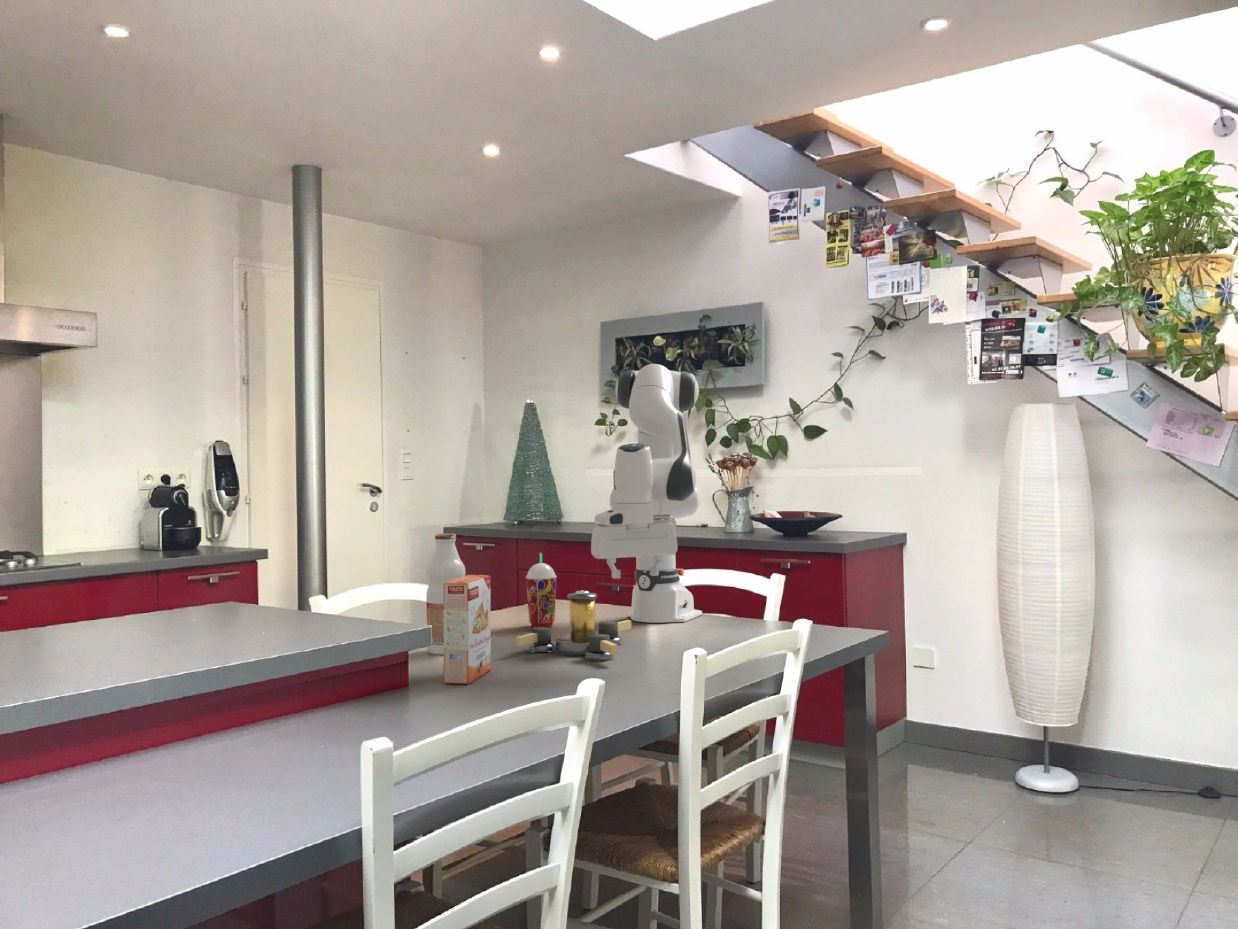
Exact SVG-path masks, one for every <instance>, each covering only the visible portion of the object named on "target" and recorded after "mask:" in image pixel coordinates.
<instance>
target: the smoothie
mask: <svg viewBox="0 0 1238 929" xmlns="http://www.w3.org/2000/svg"><path fill="white" fill-rule="evenodd" d="M555 572H556V571H555V570H554V569H553V568H552V566H551V565H549V564H547V563H544V562H543V553H542V552H539V562H537V563H535V564H534V565H532V566H531V567H530V568H529V569H528V572H527V573H526V574H527V575H525V583H526V597H527V598H526V599H527V610H528V611H527V612H528V623H530V625H531V626H532V627H531V628H533V627H535V628H538V627H549V628H552V627H553V625H554V624H553V623H554V622H555V620H556V619H555V617H556V616H555V615H556V614H555V613H556V598H557V597H556V594H557V592H556V591H557V575H556V573H555Z"/></svg>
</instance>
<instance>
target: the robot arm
mask: <svg viewBox="0 0 1238 929" xmlns="http://www.w3.org/2000/svg"><path fill="white" fill-rule="evenodd" d="M699 388H700V387H699V384H698V380H697V378H696V376H695V374H693V373H691V372H689V371H683V370H682V371H675V370H670V369H668V368H667V367H665V366H664V365H663V364H657V363H649V364H647V365H645V366H643V367H642V368H640V369H639V370H635V369H629V370H625V371H623V372H621V373H620V374H619V376H618V379H617V381H616V384H615V389H614V390H615V396H616V399H617V402H618V404H619V406H621V407H622V408H625V409H627V410H628V412H629V413H628V415H629V418H630V420H631V422H632V424H633V426H635V427H636V428H637V429H638V430H637V443H627V444H626V443H625V444H622V445H620V446H619V447H617V450H616V453H615V462H614V469H613V476H612V477H613V489H612V490H611V492H610V496H609V507H610V509H608V510H606V511H603V512H600V513H598V514H596V515H595V516H594V523H595V524H596V525H595V526H594V528H593V530H592V534H591V541H590V542H591V544H590V552H591V555H592V556H593V558H594V559H597V560H606V564H607V565H608V567H609V569H610V570H611V578H612V579H621V574H622V573H621V569H617V566H615V564H616V563H617V559H621V558H635V559H636V560H635V562H636V563H635V564H636V566H635V569H634V581H635V586H633V589H632V597H631V611H630V612H628V617H629V618H630V619H631V621H634V622H641V623H653V624H654V623H655V624H656V623H658V624H659V623H685V622H687V621H690V620H693V619H694V618H696V617H697V618H698V617H699V616H702V615H703V610H699V609H696V608H695V607H694V605H695V604H694V602H695V601H694V595H693V594H692V592H691V591H690V590H688V589H687V588H686V586H684V585H683V584H682V583H681V582H680V576H682V577H683V576H684V574H685V570H684V568H677V566H676V563H677V562H676V561H677V560H676V555H677V554H676V553H677V551H678V538H677V532H676V530H677V521H676V520H677V519H681V518H683V519H684V518H687V517H690V516H693V515H694V514H695V513H696V512H697V510H698V509H699V507H700V503H701V495H700V492H699V489H698V488H697V477H696V471H695V468H694V465H693V461H692V458H691V450H690V449H691V448H690V440H689V434H688V430H687V424H686V419H685V416H684V412H687V411H689V410H691V409H692V408H694V407H695V405H696V402H697V400H698V398H699V394H700V389H699Z"/></svg>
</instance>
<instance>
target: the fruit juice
mask: <svg viewBox="0 0 1238 929" xmlns="http://www.w3.org/2000/svg"><path fill="white" fill-rule="evenodd" d="M434 539H435V540H434V541H435V543H436V545H435V548H434V552H433V555H432V558H431V560H430V562H429V563H428V565H427V568H426V577H427V580H428V587H427V589H426V596H425V598H426V600H425V601H426V626H427V625H432V645H431V646H430V647H426V648H427V649H426V650H427V652H428V653H429V654H431V655H438V656H439V655H441V656H444V624H443V583H444V582H447V581H450V580H453V579H457V578H460V577H463V576H466V567H465V564H464V562H463V561H462V559H461V558H460V555H459V552H458V549H457V546H456V540H457V534H456V533H435V535H434Z"/></svg>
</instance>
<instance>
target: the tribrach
mask: <svg viewBox="0 0 1238 929" xmlns="http://www.w3.org/2000/svg"><path fill="white" fill-rule="evenodd" d="M567 599H568V600H569V634H570V635H567V636H563V637H559V638H557V639H555V642H552V641H551V643H549V644H532V643H531V644H527V651H528V650H529V651H534V652H548V651H556V652H557V653H556V652H555V653H556V654H558V655H561V654H563V655H562V656H566V655H567V656H568V657H584V658H585V660H586V661H590V662H607V661H612V660H613V659H614V655H611V654H609V653H607V652H591V651H589V637H588V636H589V635H594V634H597V632H596V599H598V594H597V593H594V592H590V591H589V590H576V591H575V592H573V593H572V592H571V593H568V594H567ZM610 642H612V643H614V644H616V645H617V647H618V646H620V645H622V636H620V635H618V637H614V638H610ZM548 653H549V652H548Z"/></svg>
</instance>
